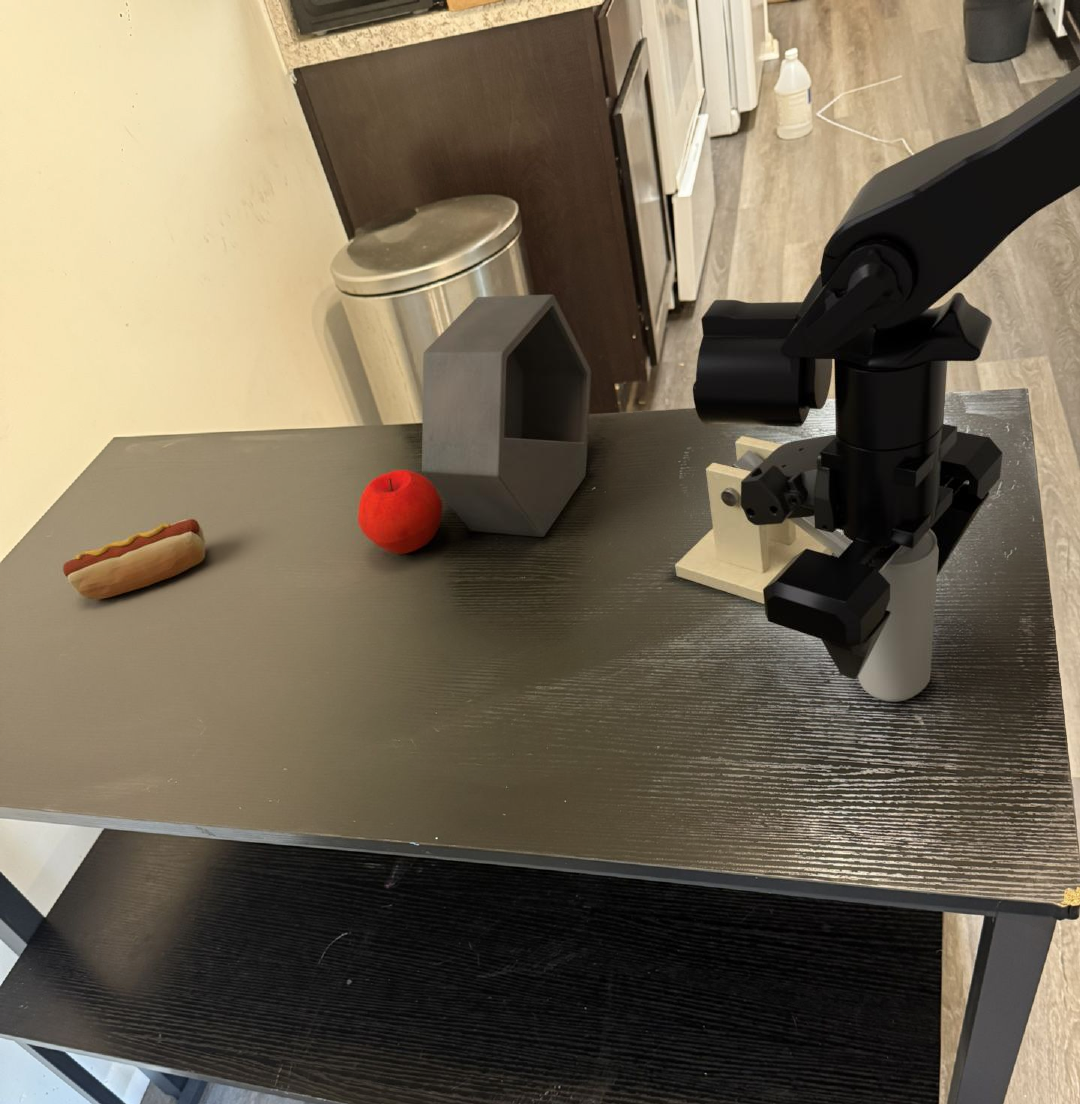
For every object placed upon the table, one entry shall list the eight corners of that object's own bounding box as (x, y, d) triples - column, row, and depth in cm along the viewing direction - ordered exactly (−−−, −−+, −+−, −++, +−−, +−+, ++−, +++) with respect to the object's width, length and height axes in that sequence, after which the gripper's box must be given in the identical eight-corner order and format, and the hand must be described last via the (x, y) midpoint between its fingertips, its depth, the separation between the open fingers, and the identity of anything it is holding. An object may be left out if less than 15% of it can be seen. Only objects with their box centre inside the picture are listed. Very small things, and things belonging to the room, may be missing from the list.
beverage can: (936, 663, 71) (946, 521, 62) (922, 711, 68) (931, 569, 60) (865, 654, 73) (866, 516, 65) (849, 700, 70) (848, 562, 62)
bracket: (840, 545, 82) (838, 438, 75) (781, 610, 78) (773, 504, 71) (736, 517, 88) (725, 416, 81) (676, 576, 84) (660, 475, 77)
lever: (871, 552, 78) (885, 533, 76) (838, 589, 76) (852, 571, 73) (748, 460, 80) (759, 439, 78) (712, 494, 78) (722, 473, 76)
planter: (496, 542, 85) (505, 277, 79) (420, 535, 88) (423, 281, 83) (583, 532, 99) (595, 308, 94) (515, 527, 103) (522, 310, 97)
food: (83, 616, 100) (55, 577, 97) (86, 587, 104) (59, 548, 101) (216, 569, 101) (193, 528, 98) (213, 541, 105) (192, 501, 102)
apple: (408, 580, 92) (382, 513, 87) (356, 557, 97) (328, 492, 92) (469, 533, 96) (447, 465, 90) (415, 512, 100) (391, 447, 95)
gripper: (842, 328, 65) (845, 527, 76) (673, 482, 57) (703, 680, 68) (1017, 350, 58) (993, 565, 69) (854, 528, 50) (856, 740, 61)
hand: (884, 633), depth 67 cm, fingers open, 9 cm apart
